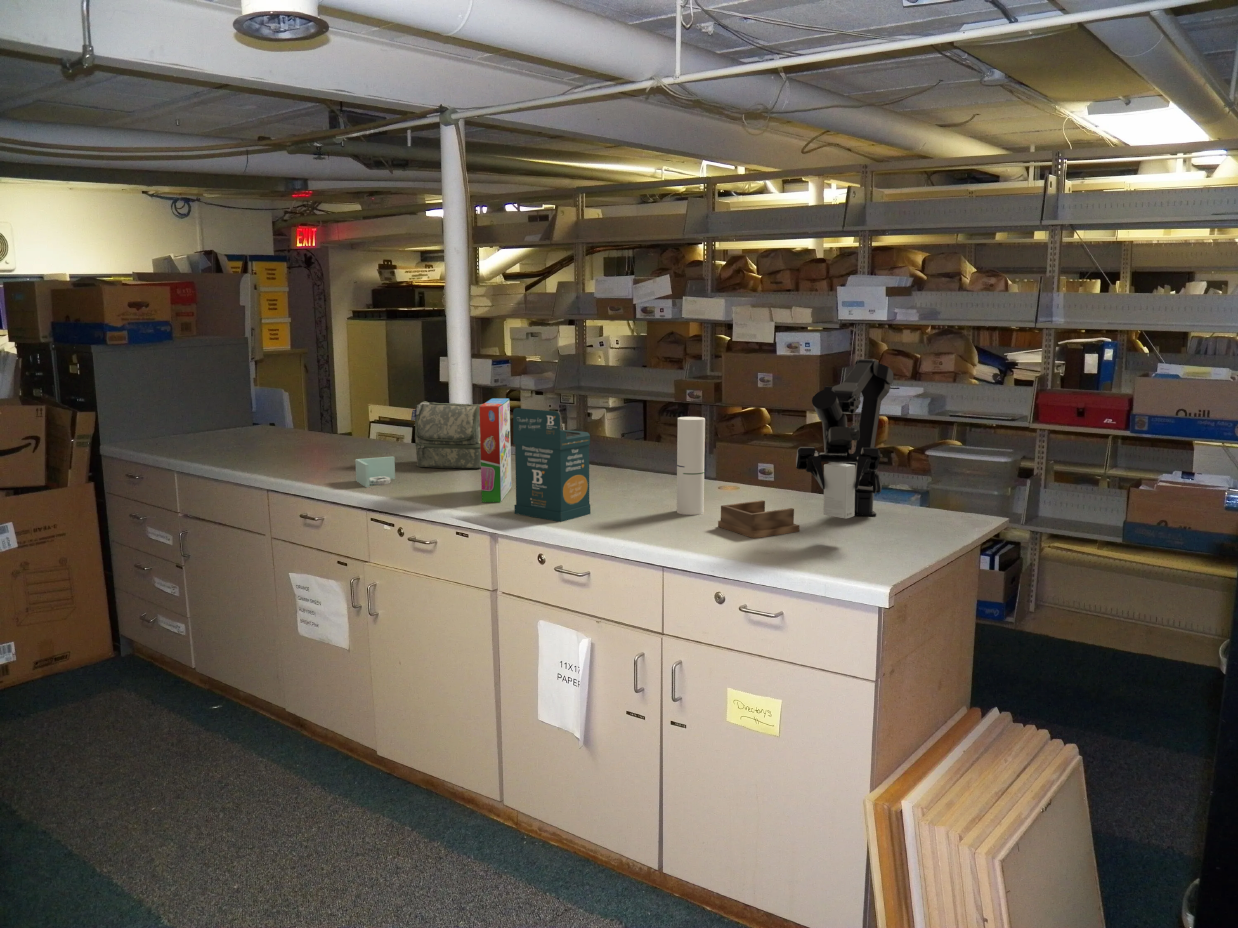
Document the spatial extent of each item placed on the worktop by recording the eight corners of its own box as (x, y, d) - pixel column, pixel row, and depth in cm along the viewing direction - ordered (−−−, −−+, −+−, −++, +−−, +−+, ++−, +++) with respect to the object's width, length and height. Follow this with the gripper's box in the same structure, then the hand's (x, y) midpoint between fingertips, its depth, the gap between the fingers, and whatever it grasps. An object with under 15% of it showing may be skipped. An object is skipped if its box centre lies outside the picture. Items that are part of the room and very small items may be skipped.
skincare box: (855, 516, 217) (857, 464, 214) (845, 519, 213) (847, 466, 211) (831, 512, 221) (833, 461, 219) (821, 515, 217) (823, 463, 215)
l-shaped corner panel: (366, 489, 284) (365, 464, 283) (356, 483, 294) (355, 459, 293) (405, 485, 290) (404, 461, 289) (394, 479, 300) (393, 456, 299)
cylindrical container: (688, 508, 255) (690, 416, 251) (709, 512, 250) (710, 418, 246) (671, 511, 250) (671, 418, 246) (691, 516, 245) (692, 420, 241)
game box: (493, 488, 282) (491, 398, 278) (511, 488, 282) (510, 398, 278) (481, 502, 262) (479, 405, 257) (501, 502, 262) (499, 405, 257)
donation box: (514, 513, 248) (512, 407, 243) (554, 503, 261) (553, 402, 256) (561, 522, 238) (560, 411, 234) (600, 511, 251) (600, 406, 246)
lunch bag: (407, 468, 319) (404, 403, 315) (430, 459, 336) (428, 398, 333) (479, 471, 313) (478, 405, 309) (499, 462, 330) (497, 400, 327)
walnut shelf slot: (762, 520, 240) (763, 499, 239) (799, 531, 228) (800, 509, 227) (718, 526, 233) (718, 504, 232) (753, 538, 221) (754, 515, 220)
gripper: (798, 412, 218) (801, 467, 209) (881, 413, 216) (887, 469, 207) (794, 441, 227) (797, 495, 218) (873, 442, 225) (879, 496, 216)
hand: (840, 488), depth 215 cm, fingers closed on skincare box, 7 cm apart
